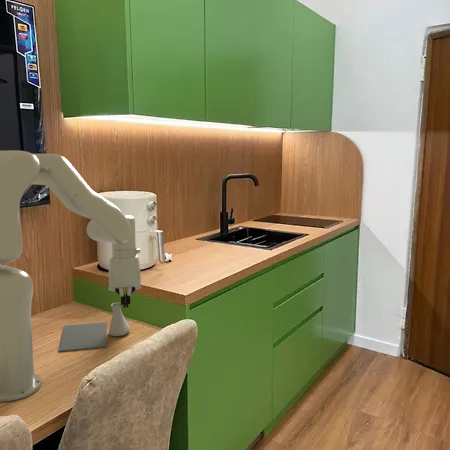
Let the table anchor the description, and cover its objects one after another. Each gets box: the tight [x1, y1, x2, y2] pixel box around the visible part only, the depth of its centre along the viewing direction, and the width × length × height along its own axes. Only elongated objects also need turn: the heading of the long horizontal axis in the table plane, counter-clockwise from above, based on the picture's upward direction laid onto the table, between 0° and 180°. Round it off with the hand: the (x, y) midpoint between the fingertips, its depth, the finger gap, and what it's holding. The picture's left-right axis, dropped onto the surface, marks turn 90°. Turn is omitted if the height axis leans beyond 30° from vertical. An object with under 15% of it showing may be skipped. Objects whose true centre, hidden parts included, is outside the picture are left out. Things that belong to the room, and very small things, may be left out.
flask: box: [107, 302, 131, 337], centre depth 143 cm, size 7×7×10 cm
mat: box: [58, 321, 108, 353], centre depth 141 cm, size 14×20×1 cm
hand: (125, 306), depth 143 cm, fingers closed
